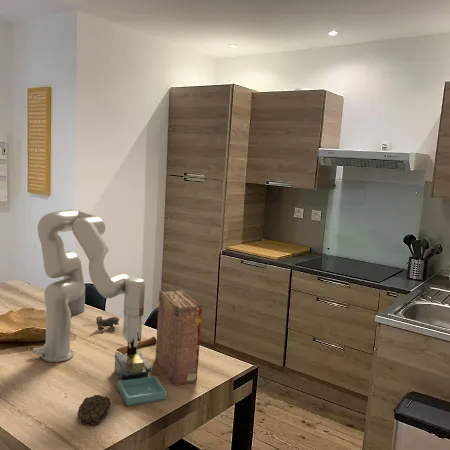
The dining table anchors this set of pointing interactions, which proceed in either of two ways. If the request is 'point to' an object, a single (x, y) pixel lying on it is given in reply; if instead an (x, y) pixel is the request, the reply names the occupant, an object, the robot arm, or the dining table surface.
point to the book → (178, 336)
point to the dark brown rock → (93, 409)
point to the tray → (141, 390)
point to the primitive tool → (139, 344)
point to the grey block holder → (125, 371)
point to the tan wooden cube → (131, 358)
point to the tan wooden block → (136, 364)
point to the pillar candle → (77, 304)
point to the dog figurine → (107, 323)
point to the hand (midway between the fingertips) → (131, 356)
